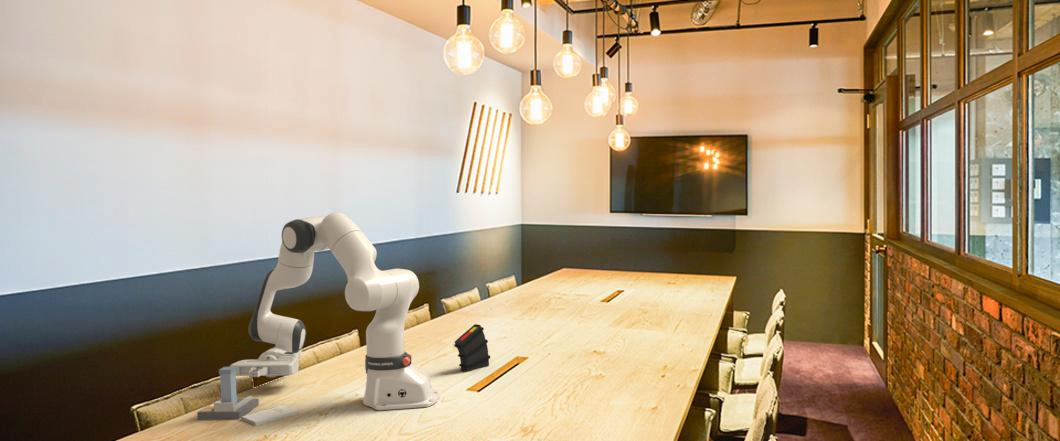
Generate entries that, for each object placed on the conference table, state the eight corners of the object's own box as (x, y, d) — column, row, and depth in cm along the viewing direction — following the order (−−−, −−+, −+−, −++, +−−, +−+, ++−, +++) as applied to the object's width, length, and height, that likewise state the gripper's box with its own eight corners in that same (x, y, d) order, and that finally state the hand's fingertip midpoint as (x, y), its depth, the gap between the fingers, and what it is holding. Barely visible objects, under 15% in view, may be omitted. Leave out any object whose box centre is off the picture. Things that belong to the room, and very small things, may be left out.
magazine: (496, 359, 240) (482, 324, 235) (471, 382, 231) (456, 347, 226) (489, 357, 242) (474, 323, 237) (464, 380, 234) (449, 345, 229)
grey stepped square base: (258, 405, 199) (258, 390, 199) (239, 418, 187) (238, 403, 187) (219, 405, 200) (218, 391, 200) (197, 419, 188) (196, 403, 188)
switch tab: (238, 405, 192) (236, 366, 192) (232, 408, 189) (230, 369, 188) (226, 405, 192) (224, 366, 192) (220, 409, 189) (218, 369, 189)
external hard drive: (241, 421, 187) (282, 410, 196) (255, 427, 181) (297, 415, 191) (240, 416, 186) (282, 404, 196) (255, 421, 181) (297, 409, 191)
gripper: (241, 353, 220) (219, 364, 206) (302, 353, 219) (285, 364, 206) (242, 372, 221) (220, 384, 207) (303, 372, 220) (285, 384, 206)
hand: (253, 374), depth 206 cm, fingers closed
